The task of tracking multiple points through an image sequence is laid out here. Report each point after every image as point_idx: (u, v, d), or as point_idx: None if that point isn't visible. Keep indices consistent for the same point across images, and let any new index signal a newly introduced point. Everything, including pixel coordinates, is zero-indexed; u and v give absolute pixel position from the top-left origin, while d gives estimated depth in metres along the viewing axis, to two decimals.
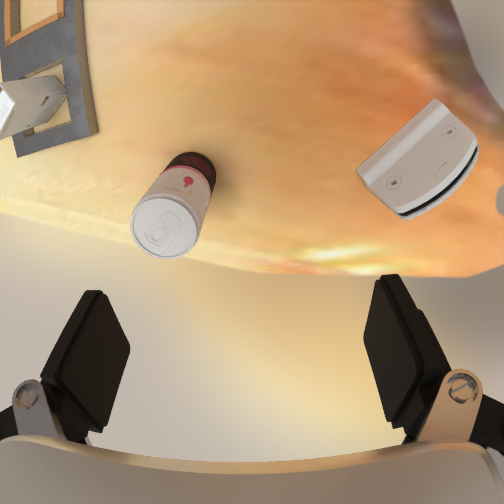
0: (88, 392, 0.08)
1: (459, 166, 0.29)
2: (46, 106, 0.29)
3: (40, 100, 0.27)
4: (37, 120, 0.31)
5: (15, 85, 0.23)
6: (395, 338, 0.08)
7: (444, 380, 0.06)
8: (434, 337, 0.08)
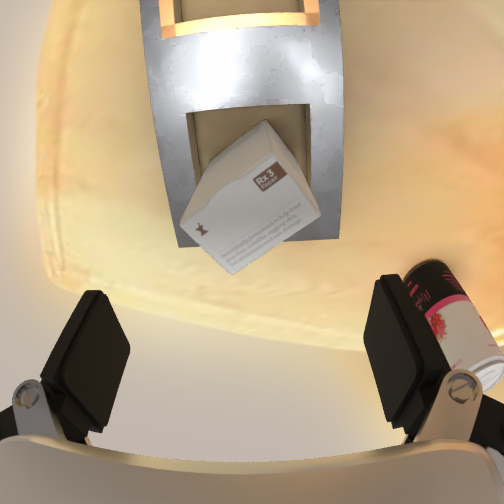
0: (88, 392, 0.08)
1: None
2: None
3: None
4: None
5: (283, 157, 0.16)
6: (395, 338, 0.08)
7: (444, 380, 0.06)
8: (434, 337, 0.08)
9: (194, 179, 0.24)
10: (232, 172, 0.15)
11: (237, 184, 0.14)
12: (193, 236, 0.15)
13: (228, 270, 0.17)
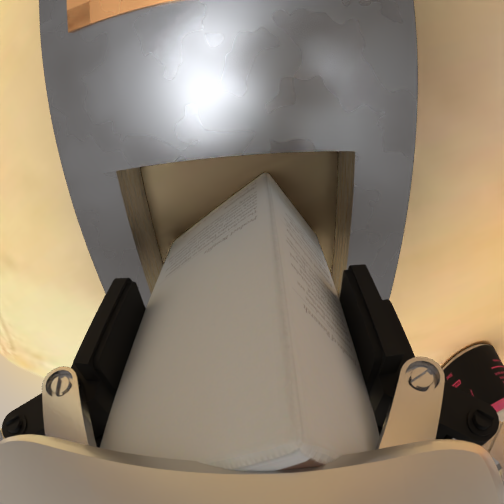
0: (120, 378, 0.08)
1: None
2: None
3: None
4: None
5: (318, 354, 0.06)
6: (358, 325, 0.08)
7: (403, 367, 0.06)
8: (400, 326, 0.08)
9: (146, 281, 0.14)
10: (184, 407, 0.05)
11: None
12: None
13: None
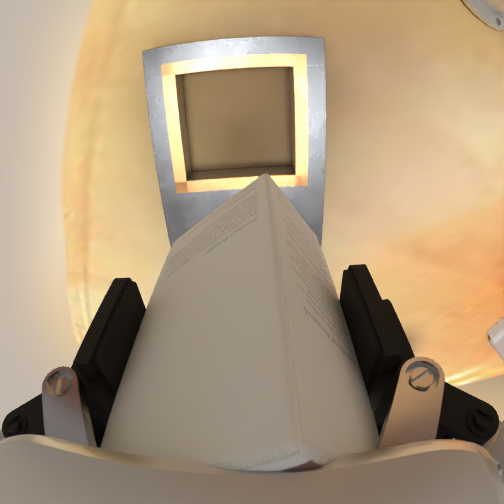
0: (120, 378, 0.08)
1: None
2: None
3: None
4: None
5: (318, 356, 0.06)
6: (358, 326, 0.08)
7: (403, 367, 0.06)
8: (400, 326, 0.08)
9: None
10: (184, 408, 0.05)
11: None
12: None
13: None
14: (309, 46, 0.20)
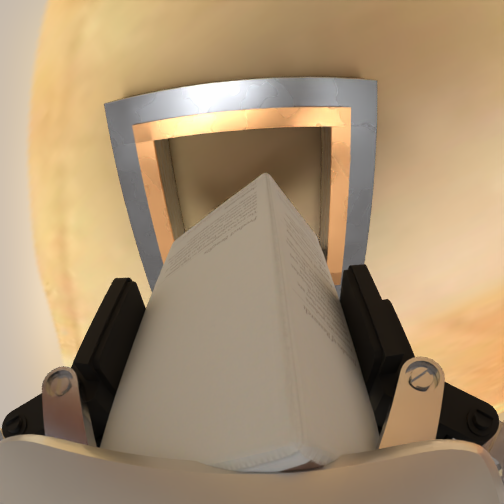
0: (120, 378, 0.08)
1: None
2: None
3: None
4: None
5: (318, 355, 0.06)
6: (358, 325, 0.08)
7: (403, 367, 0.06)
8: (400, 326, 0.08)
9: None
10: (184, 408, 0.05)
11: None
12: None
13: None
14: (355, 94, 0.13)
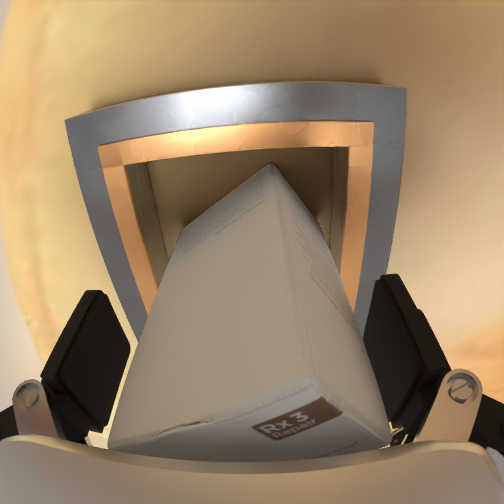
0: (88, 392, 0.08)
1: None
2: None
3: None
4: None
5: (323, 314, 0.07)
6: (395, 338, 0.08)
7: (444, 380, 0.06)
8: (434, 337, 0.08)
9: None
10: (201, 364, 0.06)
11: (211, 431, 0.05)
12: None
13: None
14: (379, 105, 0.10)
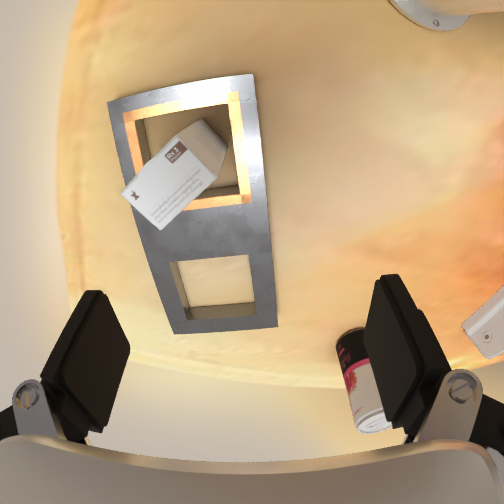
0: (88, 392, 0.08)
1: None
2: None
3: None
4: None
5: (193, 140, 0.21)
6: (395, 338, 0.08)
7: (444, 380, 0.06)
8: (434, 337, 0.08)
9: (179, 298, 0.37)
10: None
11: (155, 160, 0.19)
12: (130, 201, 0.20)
13: (157, 226, 0.22)
14: (240, 83, 0.25)
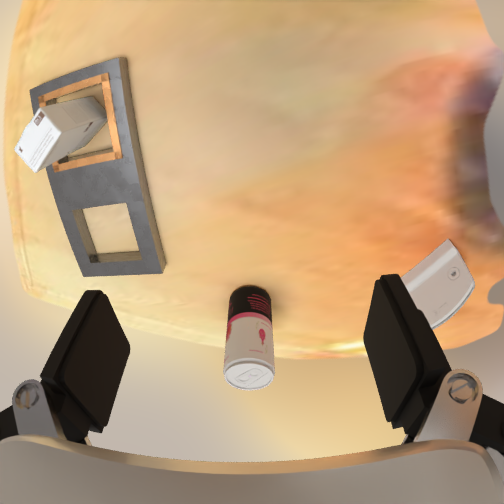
0: (88, 392, 0.08)
1: (455, 307, 0.40)
2: (88, 131, 0.31)
3: (84, 127, 0.29)
4: (77, 146, 0.32)
5: (57, 110, 0.25)
6: (395, 338, 0.08)
7: (444, 380, 0.06)
8: (434, 337, 0.08)
9: (82, 242, 0.41)
10: None
11: (29, 125, 0.23)
12: (18, 153, 0.24)
13: (33, 170, 0.25)
14: (110, 66, 0.28)
